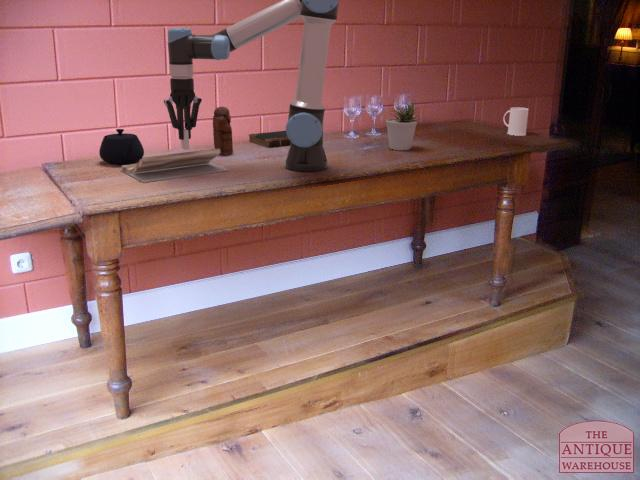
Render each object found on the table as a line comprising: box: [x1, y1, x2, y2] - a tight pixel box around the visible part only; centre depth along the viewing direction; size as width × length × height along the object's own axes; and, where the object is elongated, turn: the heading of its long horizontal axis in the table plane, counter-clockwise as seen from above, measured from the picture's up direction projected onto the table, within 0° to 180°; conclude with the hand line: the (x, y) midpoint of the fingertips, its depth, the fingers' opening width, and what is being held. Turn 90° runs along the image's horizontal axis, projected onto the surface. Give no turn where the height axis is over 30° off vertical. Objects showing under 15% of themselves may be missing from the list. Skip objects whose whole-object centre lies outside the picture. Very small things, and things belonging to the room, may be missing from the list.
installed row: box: [121, 163, 207, 174], centre depth 234 cm, size 7×30×1 cm, turn 126°
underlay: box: [120, 162, 229, 184], centre depth 229 cm, size 20×31×1 cm, turn 126°
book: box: [248, 130, 290, 149], centre depth 282 cm, size 17×4×25 cm
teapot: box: [98, 128, 145, 166], centre depth 238 cm, size 25×16×12 cm, turn 34°
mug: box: [502, 106, 530, 137], centre depth 307 cm, size 12×8×12 cm
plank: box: [133, 148, 221, 173], centre depth 226 cm, size 11×28×2 cm, turn 126°
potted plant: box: [385, 100, 420, 152], centre depth 268 cm, size 13×14×20 cm
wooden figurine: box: [212, 106, 234, 157], centre depth 256 cm, size 12×6×18 cm, turn 25°
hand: (185, 148), depth 223 cm, fingers closed
